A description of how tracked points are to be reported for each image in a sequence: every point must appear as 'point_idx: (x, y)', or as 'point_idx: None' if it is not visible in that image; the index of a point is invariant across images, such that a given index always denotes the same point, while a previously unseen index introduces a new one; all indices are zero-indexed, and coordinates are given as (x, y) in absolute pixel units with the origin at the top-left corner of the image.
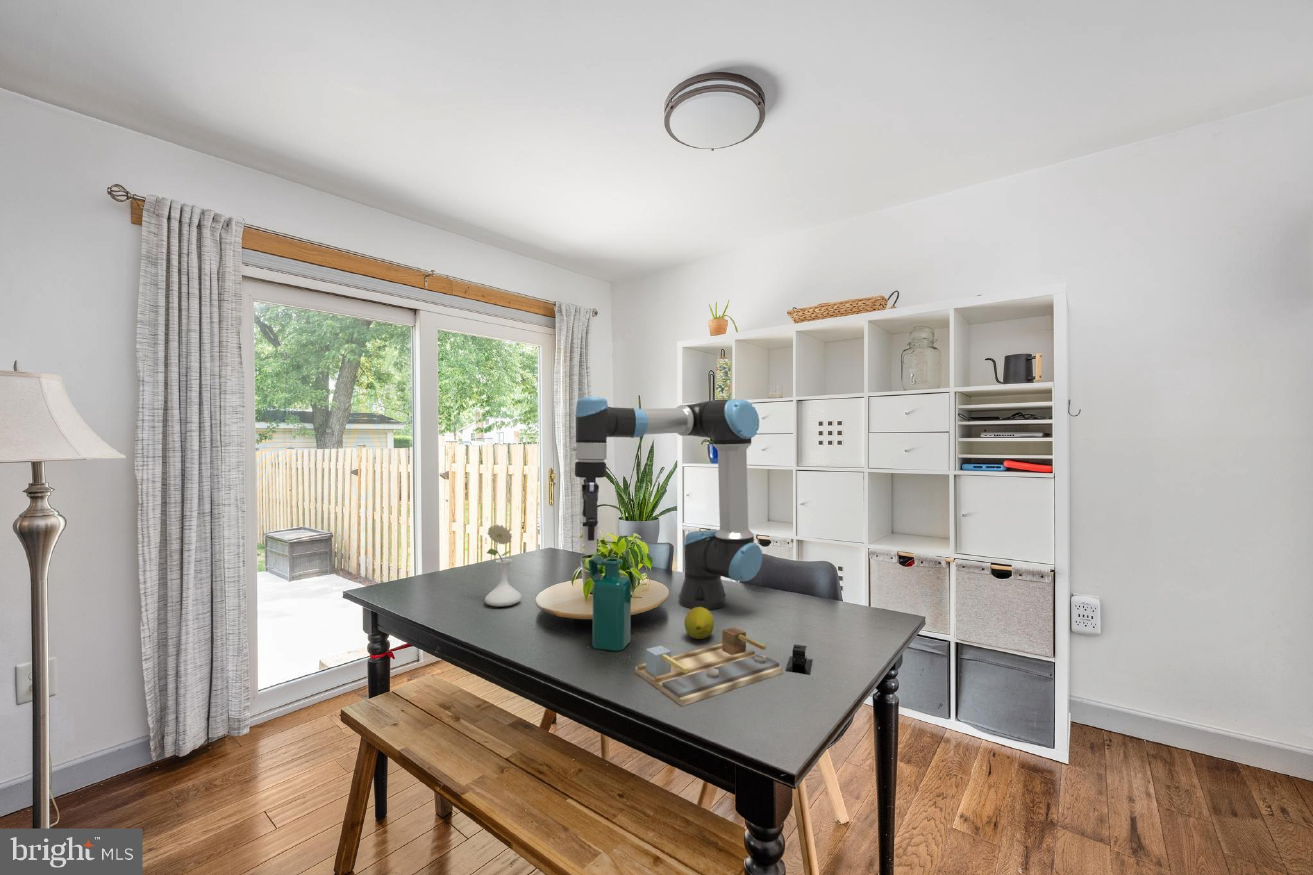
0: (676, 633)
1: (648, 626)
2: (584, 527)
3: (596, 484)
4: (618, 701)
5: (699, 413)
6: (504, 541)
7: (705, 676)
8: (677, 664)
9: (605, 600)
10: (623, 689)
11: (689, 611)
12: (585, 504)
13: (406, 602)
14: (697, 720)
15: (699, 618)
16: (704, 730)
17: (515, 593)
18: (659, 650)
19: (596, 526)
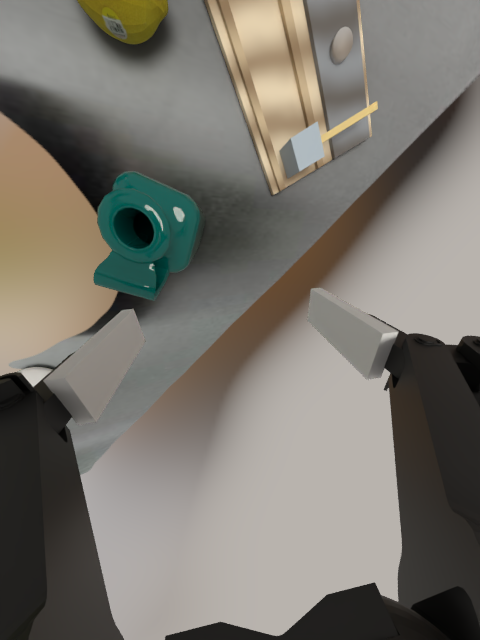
0: (108, 78)
1: (81, 147)
2: (119, 375)
3: None
4: (332, 221)
5: None
6: None
7: (338, 68)
8: (359, 119)
9: (196, 242)
10: (309, 214)
11: None
12: (89, 530)
13: (82, 451)
14: (400, 123)
15: None
16: (420, 119)
17: (33, 379)
18: (309, 145)
19: (396, 332)
